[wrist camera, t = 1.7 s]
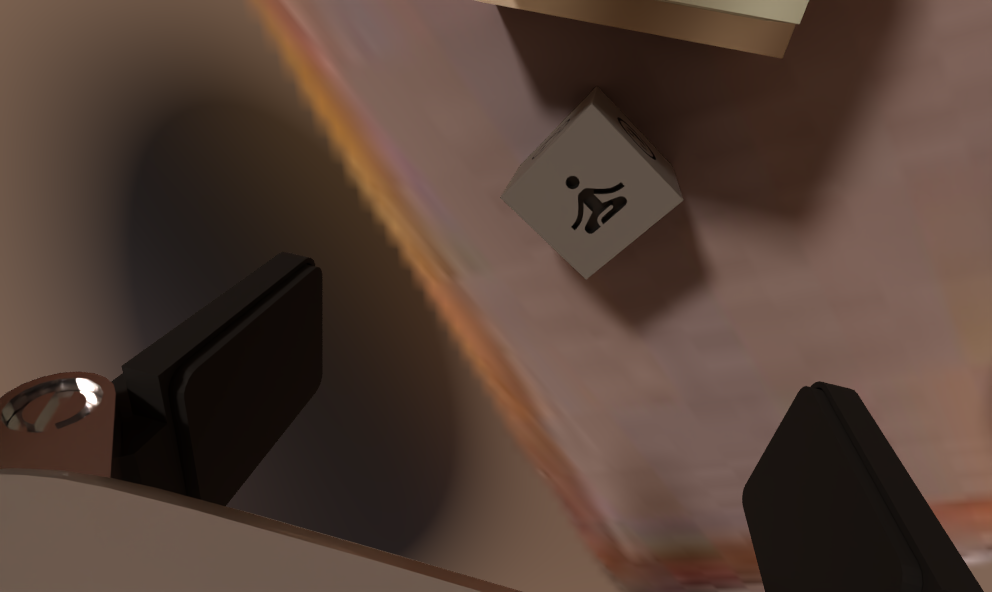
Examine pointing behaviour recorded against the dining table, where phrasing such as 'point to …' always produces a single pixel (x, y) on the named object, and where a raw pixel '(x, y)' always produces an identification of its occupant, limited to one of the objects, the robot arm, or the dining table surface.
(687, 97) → the dining table surface
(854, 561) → the robot arm
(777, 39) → the cream layered block
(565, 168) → the dice cube
